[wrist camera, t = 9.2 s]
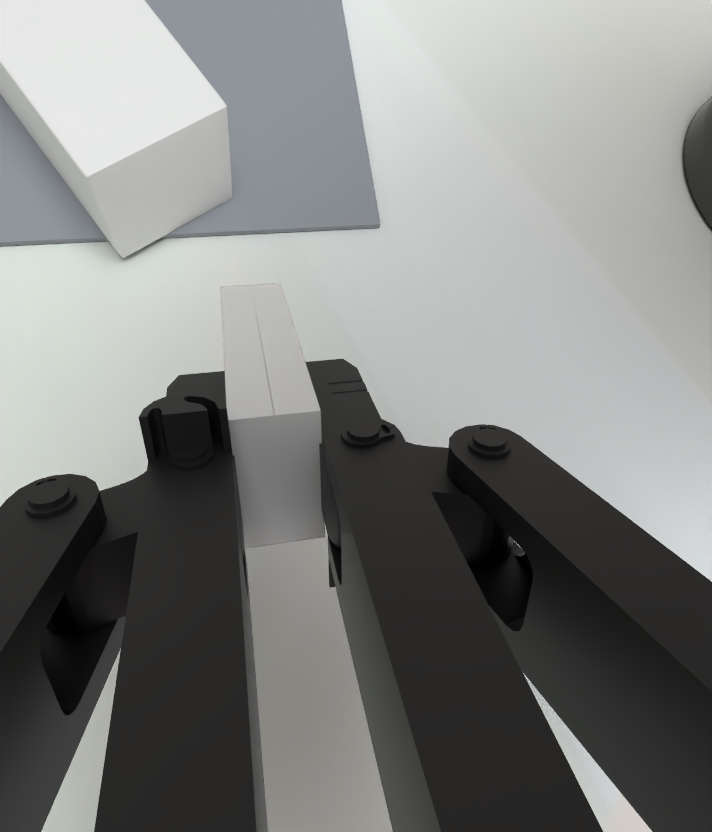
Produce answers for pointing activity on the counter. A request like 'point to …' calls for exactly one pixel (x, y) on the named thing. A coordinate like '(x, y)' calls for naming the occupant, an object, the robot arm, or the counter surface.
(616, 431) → the counter surface
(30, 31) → the milk carton
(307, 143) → the mat
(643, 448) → the counter surface
